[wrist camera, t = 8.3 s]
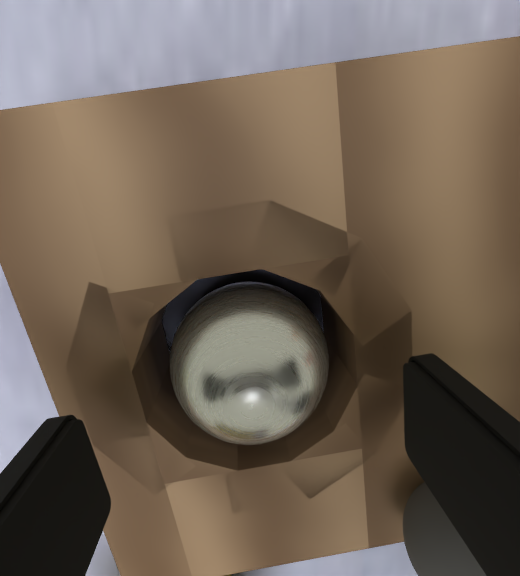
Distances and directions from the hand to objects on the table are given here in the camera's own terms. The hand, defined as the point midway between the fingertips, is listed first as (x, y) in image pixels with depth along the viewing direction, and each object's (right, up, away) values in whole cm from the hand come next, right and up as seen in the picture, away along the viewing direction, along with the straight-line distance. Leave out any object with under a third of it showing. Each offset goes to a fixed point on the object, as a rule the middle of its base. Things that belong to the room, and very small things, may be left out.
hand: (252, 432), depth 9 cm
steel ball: (0, +1, +4) cm, 4 cm away
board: (+5, +3, +7) cm, 9 cm away
